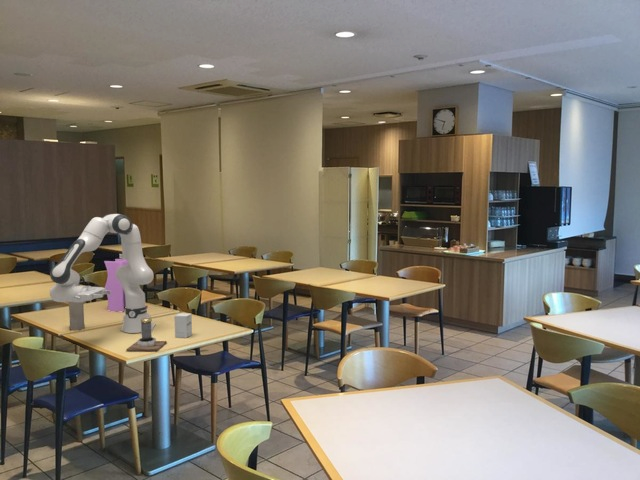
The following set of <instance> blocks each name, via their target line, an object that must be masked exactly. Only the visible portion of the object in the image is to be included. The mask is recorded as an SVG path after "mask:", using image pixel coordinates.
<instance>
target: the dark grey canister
mask: <svg viewBox="0 0 640 480" xmlns="http://www.w3.org/2000/svg"><path fill="white" fill-rule="evenodd" d="M152 319H153V318H152V317H151V318H142V319H141V331H142V332H141V338H142V341H152V337H153V335H152V330H151V323H152V322H153V321H152Z"/></svg>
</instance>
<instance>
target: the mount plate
mask: <svg viewBox="0 0 640 480" xmlns="http://www.w3.org/2000/svg"><path fill="white" fill-rule="evenodd" d="M167 342H168V341H166V340H156V345H155V346H152V347H139V346H138V344H137V341H136V342H134V343H133V344H131V345H130V346H129V347H128V348H126V351H125V352H126V353H127V352H129V353H130V352H133V353H134V352H139V353H142V352H143V353H145V352H146V353H147V352H148V353H149V352H150V353H152V352H153V353H157V352H159V350H160V349H162V348H163V347H164V346H165V345H167V344H168V343H167Z"/></svg>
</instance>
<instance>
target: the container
mask: <svg viewBox="0 0 640 480" xmlns="http://www.w3.org/2000/svg"><path fill="white" fill-rule="evenodd" d="M114 260H115V261H114ZM114 260H113V261H111V260H104V261H103V262H104V264H105V268H106V272H107V279H106V282H105V285H104V288H105V290H107V291H111V294H106V297H107V302H108V303H107V310H110V311H109V312H111V311H122V312H121V313H124V312H125V308H124V307H126V300H125V293H124V289H123V287H122V285H121V283H120V281H119V280H118V279H117V278H116V271H117V269H118V268H119V267H120V266H124V265H129V264H128V262H127V260H126V259H124V258H115V259H114ZM123 311H124V312H123Z"/></svg>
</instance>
